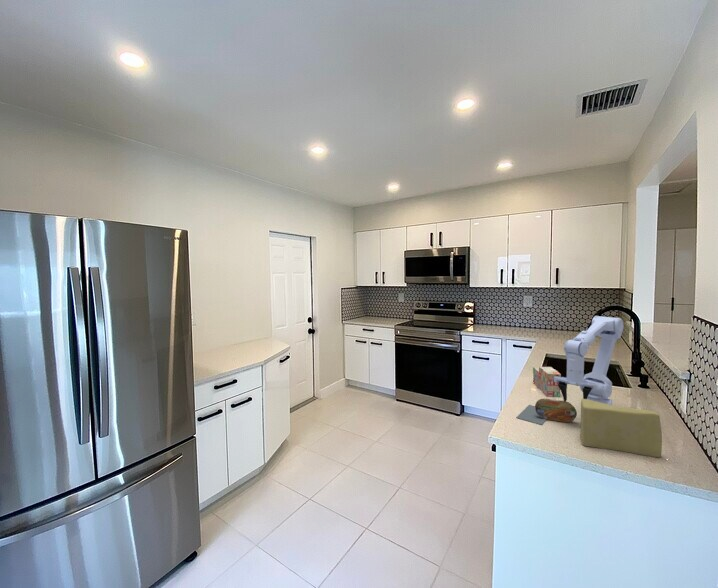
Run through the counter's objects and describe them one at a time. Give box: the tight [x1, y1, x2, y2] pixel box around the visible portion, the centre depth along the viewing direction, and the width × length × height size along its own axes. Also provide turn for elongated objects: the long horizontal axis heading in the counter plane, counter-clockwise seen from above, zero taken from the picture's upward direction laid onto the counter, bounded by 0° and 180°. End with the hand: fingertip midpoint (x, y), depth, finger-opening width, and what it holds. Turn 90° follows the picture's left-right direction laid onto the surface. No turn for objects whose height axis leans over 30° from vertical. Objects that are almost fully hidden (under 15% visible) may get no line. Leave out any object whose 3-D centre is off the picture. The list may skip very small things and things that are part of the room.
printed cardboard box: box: [532, 366, 562, 398], centre depth 169 cm, size 21×6×12 cm, turn 168°
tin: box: [534, 398, 578, 423], centre depth 134 cm, size 15×3×8 cm, turn 68°
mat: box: [516, 404, 547, 426], centre depth 140 cm, size 10×18×1 cm, turn 136°
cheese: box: [579, 398, 663, 458], centre depth 112 cm, size 22×10×15 cm, turn 58°
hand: (574, 402), depth 129 cm, fingers open, 6 cm apart
